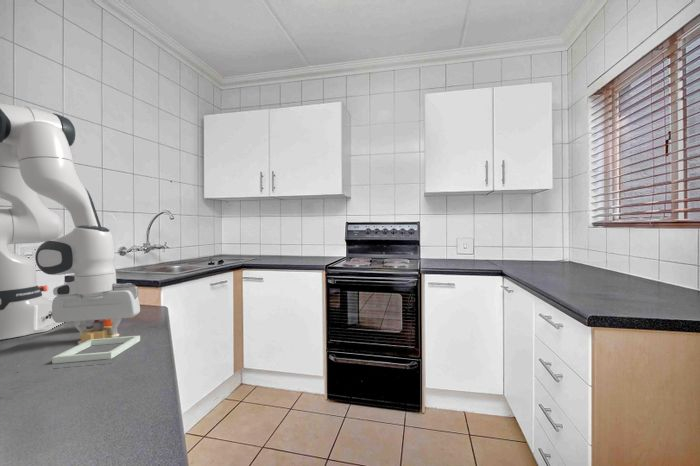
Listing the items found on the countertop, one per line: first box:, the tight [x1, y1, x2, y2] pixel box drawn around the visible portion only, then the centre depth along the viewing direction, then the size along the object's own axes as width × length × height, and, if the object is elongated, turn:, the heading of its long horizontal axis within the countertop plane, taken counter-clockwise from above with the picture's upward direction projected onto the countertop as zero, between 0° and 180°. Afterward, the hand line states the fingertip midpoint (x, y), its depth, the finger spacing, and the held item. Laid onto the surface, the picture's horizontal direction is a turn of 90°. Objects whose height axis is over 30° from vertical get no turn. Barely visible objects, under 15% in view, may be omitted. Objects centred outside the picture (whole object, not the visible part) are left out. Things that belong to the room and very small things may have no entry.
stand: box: [77, 321, 120, 345], centre depth 87 cm, size 9×9×6 cm
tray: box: [51, 335, 141, 370], centre depth 76 cm, size 12×12×2 cm
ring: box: [80, 326, 116, 343], centre depth 86 cm, size 7×5×2 cm
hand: (98, 335), depth 87 cm, fingers closed on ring, 5 cm apart
